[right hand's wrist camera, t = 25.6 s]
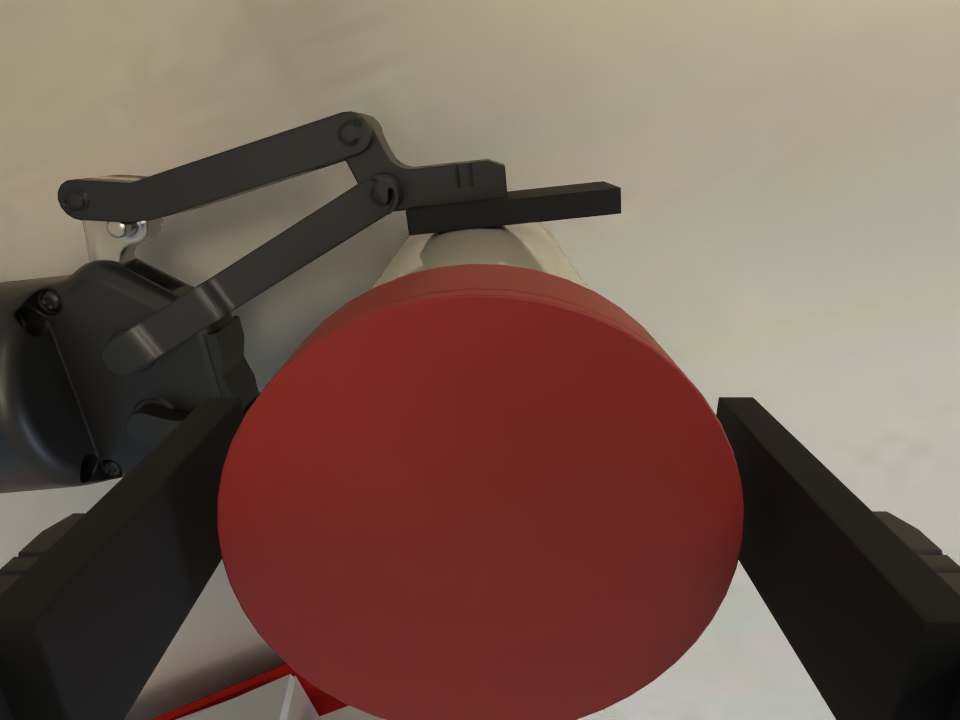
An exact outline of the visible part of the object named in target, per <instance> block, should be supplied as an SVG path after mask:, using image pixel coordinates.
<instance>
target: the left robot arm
mask: <svg viewBox="0 0 960 720" xmlns="http://www.w3.org/2000/svg"><path fill="white" fill-rule="evenodd" d="M345 160H346V162H347V164H348V166H349V167H350V169H351V171H352V173H353V175H354V177H355V179H356V181H357V182H358V184H357V185H356V186H354V187H353V188H351V189H350V190H348V191H346V192H345V193H343V194H342V195H340V196H339V197H337V198H336V199H334V200H332V201H331V202H329V203H328V204H326V205H325V206H323V207H321V208H320V209H318V210H317V211H315V212H314V213H312V214H310V215H309V216H307V217H306V218H304V219H303V220H301V221H300V222H298V223H296V224H295V225H293V226H292V227H290V228H289V229H287V230H285V231H284V232H282V233H281V234H279V235H278V236H276V237H274V238H273V239H271V240H270V241H268V242H267V243H265V244H263V245H262V246H260V247H259V248H257V249H256V250H254V251H253V252H251V253H249V254H248V255H246V256H245V257H243V258H242V259H240V260H238V261H237V262H235V263H234V264H232V265H231V266H229V267H227V268H226V269H224V270H223V271H221V272H220V273H218V274H216V275H215V276H213V277H212V278H210V279H208V280H207V281H205V282H203V283H202V284H200V285H198V286H197V287H195V288H194V287H192V286H190V285H188V284H186V283H184V282H182V281H180V280H178V279H176V278H174V277H172V276H170V275H169V274H167V273H165V272H163V271H161V270H159V269H157V268H155V267H153V266H151V265H149V264H147V263H145V262H143V261H141V260H139V259H137V258H135V249H136V246H137V245H138V244H139V243H140V242H143V241H146V240H149V239H152V238H154V237H156V236H157V235H158V234H159V233H160V230H161V224H162V223H163V218H162V217H166V216H170V215H173V214H177V213H181V212H185V211H189V210H193V209H197V208H200V207H203V206H207V205H210V204H213V203H216V202H219V201H222V200H225V199H228V198H231V197H234V196H237V195H240V194H244V193H247V192H250V191H253V190H256V189H259V188H262V187H265V186H268V185H271V184H274V183H278V182H281V181H284V180H287V179H290V178H293V177H296V176H299V175H302V174H305V173H308V172H312V171H315V170H318V169H321V168H324V167H327V166H330V165H333V164H336V163H339V162H342V161H345ZM58 200H59V203H60V206H61V207H62V209H63V210H64V211H65V212H66V214H68V215H69V216H71V217H73V218H75V219H79V220H83V225H84V231H85V237H86V242H87V248H88V254H89V260H90V262H89V263H87V264H85V265H83V266H82V267H80V268H79V269H78V270H77V271H76V272H75V273H73V274H72V275H68V276H59V277H49V278H40V279H30V280H21V281H11V282H2V283H0V493H10V492H21V491H32V490H43V489H54V488H65V487H76V486H83V485H89V484H94V483H98V482H102V481H107V480H111V479H115V478H121V477H125V476H126V475H127V474H128V473H129V472H130V471H131V470H132V469H133V468H134V467H135V466H136V465H137V464H138V463H139V462H140V461H141V460H142V459H143V458H144V457H145V456H146V455H148V454H149V453H150V452H151V451H152V450H153V449H154V448H155V447H156V446H157V445H158V444H159V443H160V442H161V441H162V440H163V439H164V438H165V437H166V436H167V435H168V434H169V433H171V432H172V431H173V430H174V429H175V428H176V427H177V426H178V425H179V424H180V423H181V422H182V421H183V420H184V419H185V418H186V417H187V416H188V415H189V414H190V413H191V412H192V411H194V410H195V409H196V408H197V407H198V406H199V405H200V404H201V403H202V402H203V401H204V400H205V399H206V398H207V397H241V401H242V408H243V414H244V416H245V414H246V412H247V411H248V410H249V408H250V407H251V406H252V404H253V403H254V402H255V400H256V399H257V397H258V396H259V395H260V392H258V388H257V384H256V380H255V376H254V374H253V372H252V370H251V368H250V367H249V365H248V363H247V361H246V359H245V358H244V333H243V329H242V326H241V322H240V318H239V316H234V317H233V316H232V315H231V313H230V312H232V311H233V310H235V309H236V308H238V307H239V306H241V305H243V304H244V303H246V302H247V301H249V300H251V299H252V298H254V297H256V296H257V295H259V294H260V293H262V292H264V291H265V290H267V289H268V288H270V287H272V286H273V285H275V284H276V283H278V282H280V281H281V280H283V279H285V278H286V277H288V276H289V275H291V274H293V273H294V272H296V271H297V270H299V269H301V268H302V267H304V266H305V265H307V264H309V263H310V262H312V261H314V260H315V259H317V258H318V257H320V256H322V255H323V254H325V253H326V252H328V251H330V250H331V249H333V248H334V247H336V246H338V245H339V244H341V243H343V242H344V241H346V240H347V239H349V238H351V237H352V236H354V235H355V234H357V233H359V232H360V231H362V230H363V229H365V228H367V227H368V226H370V225H372V224H373V223H375V222H376V221H378V220H380V219H381V218H383V217H384V216H386V215H388V214H390V213H391V212H393V211H402V210H406V215H407V222H408V229H409V236H411V235H420V234H430V233H439V232H449V231H458V230H467V229H477V228H487V227H496V226H506V225H515V224H524V223H534V222H543V221H553V220H562V219H572V218H581V217H591V216H600V215H610V214H619V213H621V188H620V187H617V186H614V185H611V184H609V183H606V182H603V181H602V182H593V183H584V184H574V185H565V186H556V187H547V188H537V189H528V190H519V191H509V192H507V187H506V175H505V165H504V164H502V163H499V162H496V161H492V160H489V159H483V160H474V161H464V162H455V163H446V164H437V165H428V166H419V167H411V166H407V165H405V164H403V163H401V162H400V161H399V160H398V159H397V158H396V157H395V156H394V154H393V153H392V151H391V149H390V147H389V145H388V143H387V141H386V139H385V137H384V135H383V132H382V127H381V126H380V124H379V122H378V121H377V120H376V119H375V118H374V117H372V116H369V115H366V114H361V113H356V112H351V111H350V112H342V113H339V114H336V115H333V116H330V117H327V118H324V119H321V120H318V121H315V122H312V123H309V124H306V125H303V126H300V127H297V128H294V129H291V130H288V131H285V132H282V133H279V134H276V135H273V136H270V137H267V138H264V139H261V140H258V141H255V142H252V143H249V144H246V145H243V146H240V147H237V148H234V149H231V150H228V151H225V152H222V153H219V154H216V155H213V156H210V157H207V158H204V159H201V160H198V161H195V162H192V163H189V164H186V165H183V166H180V167H177V168H174V169H171V170H168V171H165V172H162V173H159V174H156V175H153V176H150V177H149V176H132V175H113V176H103V177H94V178H84V179H75V180H68V181H66V182H64V183H63V184H62V185H61V186H60V188H59V190H58Z"/></svg>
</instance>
